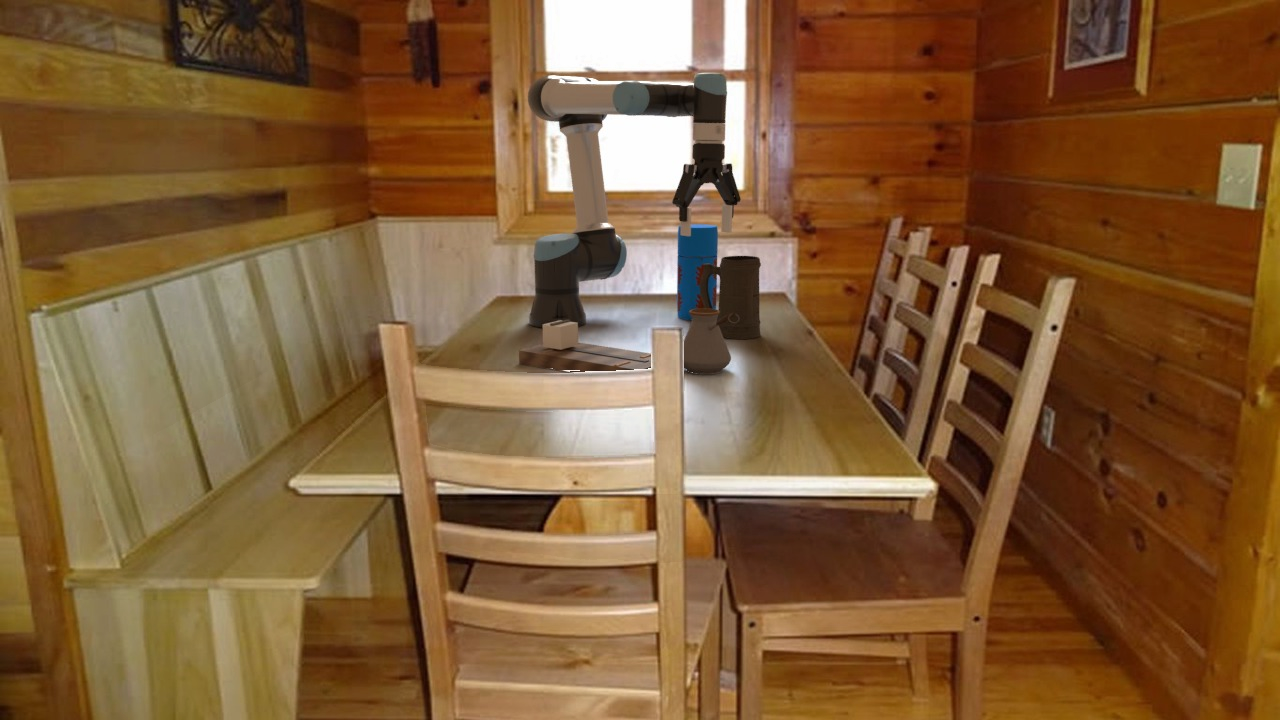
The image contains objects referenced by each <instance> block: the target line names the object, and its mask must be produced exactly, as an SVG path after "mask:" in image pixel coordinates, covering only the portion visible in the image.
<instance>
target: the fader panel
mask: <svg viewBox="0 0 1280 720" xmlns="http://www.w3.org/2000/svg"><path fill="white" fill-rule="evenodd" d="M651 353H652V352H642V351H637V350H630V349H623V348H617V347H610V346H605V345H599V344H592V343H591V344H590V343H585V342H584V343H583V342H579V341H578V345H576V346H572V347H569V348H565V349H562V350H559V349H553V348H547V347H543V343H542V344H538V345H534V346H530V347H527V348H523V349H520V350H519V349H518V363H519V365H525V366H530V367H536V368H541V369H546V368H553V369H555V370H554V371H557V370H580V371H570V372H585V371H616V370H634V369H648V368H651Z"/></svg>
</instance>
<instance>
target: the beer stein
mask: <svg viewBox="0 0 1280 720" xmlns="http://www.w3.org/2000/svg"><path fill="white" fill-rule="evenodd" d="M761 266H762V265H761V258H760V257H759V256H753V255H729V256H728V255H727V256H722V258H721V260H720V264H719V266H718V265H717V266H713V265H712V264H710V263H707V264H704V271H703V274H702V277H701V280H700V295H701V298H702V301H703V304H704V306H705V308H707V309H713V308H712V305H711V302H710V297H709V292H708V281H709V277H710V276H711V275H712V274H717V276H718V277H719V291H718V293H719V295H718V309H717V310H719V311H720V313H719V314H718V317H717V321H718V320H720V319H721V318H722V317H723V316H727V314H731V313H735V314H736V315H735V316H734V317H733V318H732V319H731V320H730V321H731V322H734V323H731V322H730V321H729V320H728V321H727V322H725V323H723V324H721V325H719V328H720V330H721V333H722V335H723V338H724V339H731V340H751V339H756V338H759V337H760V336H761V326H760V325H761V320H760V318H761V316H760V269H761ZM737 315H738V316H739V318H738V316H737ZM738 319H739V321H738ZM737 321H738V322H737ZM735 322H736V323H735Z"/></svg>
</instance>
